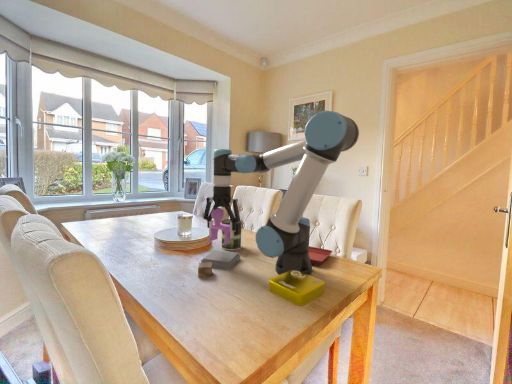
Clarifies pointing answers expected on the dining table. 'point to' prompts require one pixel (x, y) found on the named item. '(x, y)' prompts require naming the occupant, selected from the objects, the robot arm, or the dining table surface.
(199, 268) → the walnut block
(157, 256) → the dining table surface
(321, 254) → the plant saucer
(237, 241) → the coffee can
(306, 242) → the robot arm
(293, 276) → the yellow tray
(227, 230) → the chair
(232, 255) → the plinth
